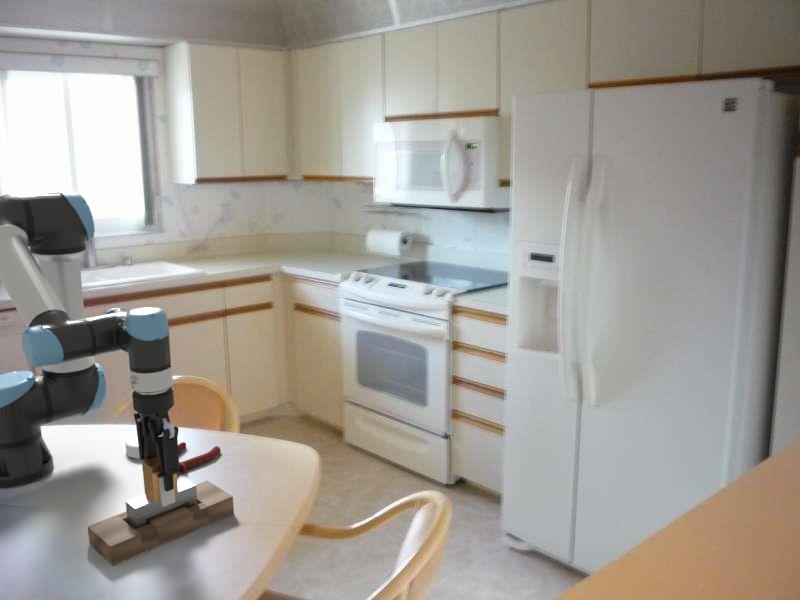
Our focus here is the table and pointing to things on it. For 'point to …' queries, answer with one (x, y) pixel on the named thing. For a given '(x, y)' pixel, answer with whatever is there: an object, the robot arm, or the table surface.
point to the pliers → (196, 458)
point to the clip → (157, 496)
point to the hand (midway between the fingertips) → (162, 499)
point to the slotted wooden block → (158, 525)
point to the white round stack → (132, 447)
